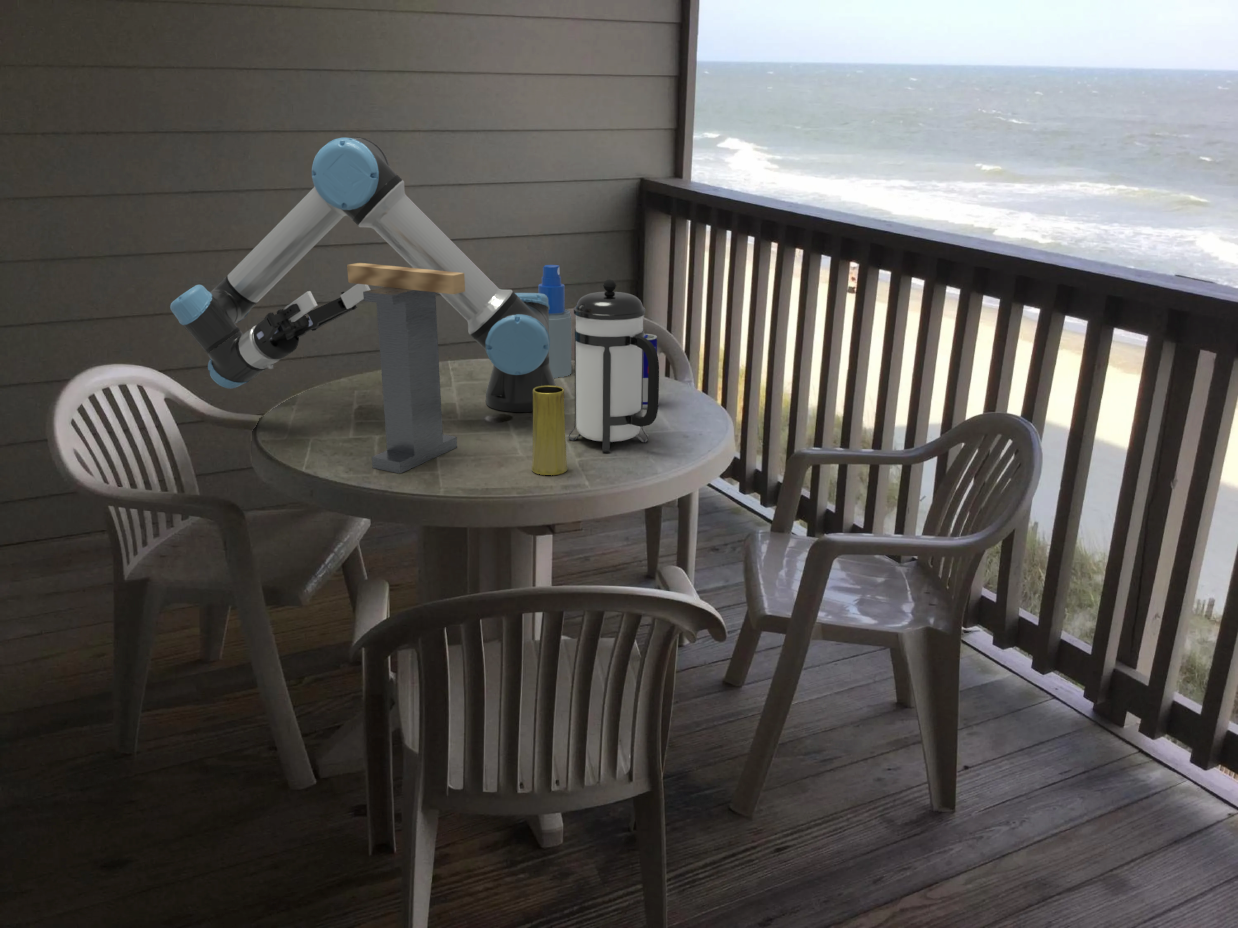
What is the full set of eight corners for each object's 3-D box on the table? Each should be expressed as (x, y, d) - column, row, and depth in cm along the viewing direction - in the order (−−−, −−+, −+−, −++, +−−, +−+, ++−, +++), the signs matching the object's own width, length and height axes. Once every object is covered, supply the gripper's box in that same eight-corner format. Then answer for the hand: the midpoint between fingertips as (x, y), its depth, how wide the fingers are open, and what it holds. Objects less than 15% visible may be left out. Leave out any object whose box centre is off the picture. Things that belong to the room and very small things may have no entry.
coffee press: (560, 453, 178) (558, 286, 168) (576, 426, 193) (575, 271, 183) (656, 458, 176) (660, 289, 166) (665, 431, 191) (669, 274, 181)
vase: (531, 464, 172) (530, 384, 168) (566, 463, 173) (566, 384, 168) (531, 476, 167) (530, 394, 162) (568, 475, 167) (567, 394, 162)
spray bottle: (577, 370, 235) (576, 264, 226) (563, 379, 227) (562, 269, 218) (542, 367, 237) (540, 261, 229) (527, 376, 229) (524, 267, 221)
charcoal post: (372, 467, 170) (358, 292, 160) (430, 442, 183) (421, 279, 173) (400, 473, 167) (388, 296, 157) (457, 447, 181) (449, 282, 171)
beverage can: (653, 410, 204) (655, 338, 199) (629, 408, 205) (630, 337, 200) (657, 403, 209) (659, 333, 204) (633, 402, 210) (634, 332, 205)
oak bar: (348, 282, 169) (347, 265, 168) (360, 280, 171) (359, 262, 170) (454, 294, 159) (453, 275, 158) (465, 291, 162) (464, 273, 161)
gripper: (327, 346, 194) (397, 300, 182) (225, 374, 173) (297, 324, 162) (309, 311, 193) (379, 263, 182) (205, 335, 173) (276, 283, 161)
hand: (341, 292), depth 172 cm, fingers open, 13 cm apart
